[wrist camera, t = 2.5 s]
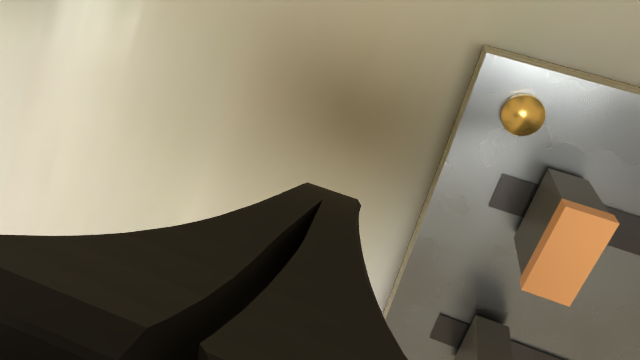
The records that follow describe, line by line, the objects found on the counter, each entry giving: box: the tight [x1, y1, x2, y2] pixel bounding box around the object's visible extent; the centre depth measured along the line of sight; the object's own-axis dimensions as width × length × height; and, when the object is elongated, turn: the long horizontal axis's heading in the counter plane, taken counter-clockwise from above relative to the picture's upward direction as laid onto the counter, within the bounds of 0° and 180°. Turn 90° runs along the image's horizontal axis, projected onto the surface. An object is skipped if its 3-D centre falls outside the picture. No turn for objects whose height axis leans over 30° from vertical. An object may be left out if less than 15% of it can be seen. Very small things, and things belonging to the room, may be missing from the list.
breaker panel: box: [383, 45, 640, 360], centre depth 17 cm, size 12×14×2 cm
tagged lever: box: [514, 168, 619, 307], centre depth 13 cm, size 1×3×3 cm, turn 166°
